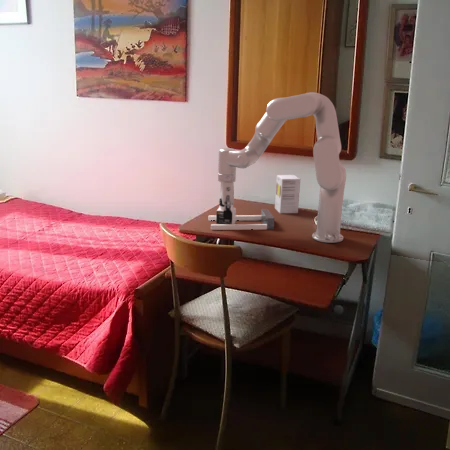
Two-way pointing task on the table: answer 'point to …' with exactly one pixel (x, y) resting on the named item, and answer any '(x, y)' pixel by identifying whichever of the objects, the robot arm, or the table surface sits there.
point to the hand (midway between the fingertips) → (225, 216)
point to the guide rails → (238, 226)
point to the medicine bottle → (221, 214)
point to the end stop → (267, 218)
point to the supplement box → (287, 194)
